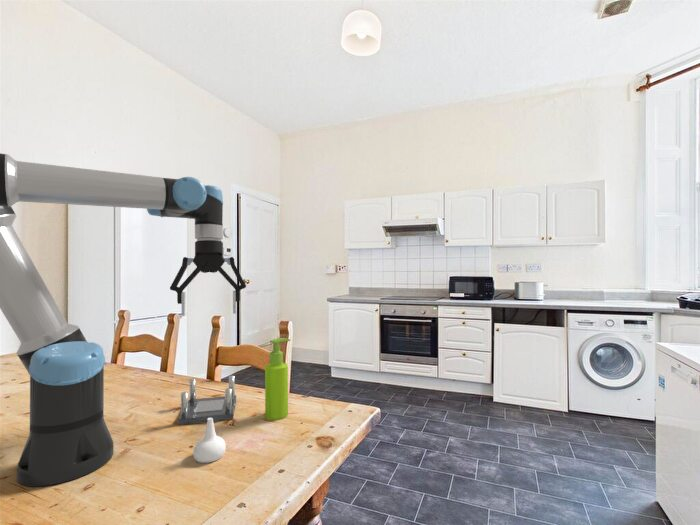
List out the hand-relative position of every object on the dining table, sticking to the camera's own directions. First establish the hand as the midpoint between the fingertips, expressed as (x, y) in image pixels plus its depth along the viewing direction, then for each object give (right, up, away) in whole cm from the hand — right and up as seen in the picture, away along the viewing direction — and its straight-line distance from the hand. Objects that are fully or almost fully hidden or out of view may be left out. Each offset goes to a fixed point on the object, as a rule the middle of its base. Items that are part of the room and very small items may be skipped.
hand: (209, 314), depth 104 cm
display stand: (+2, -26, -5) cm, 26 cm away
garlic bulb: (+11, -26, -29) cm, 40 cm away
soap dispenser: (+21, -26, -8) cm, 34 cm away
